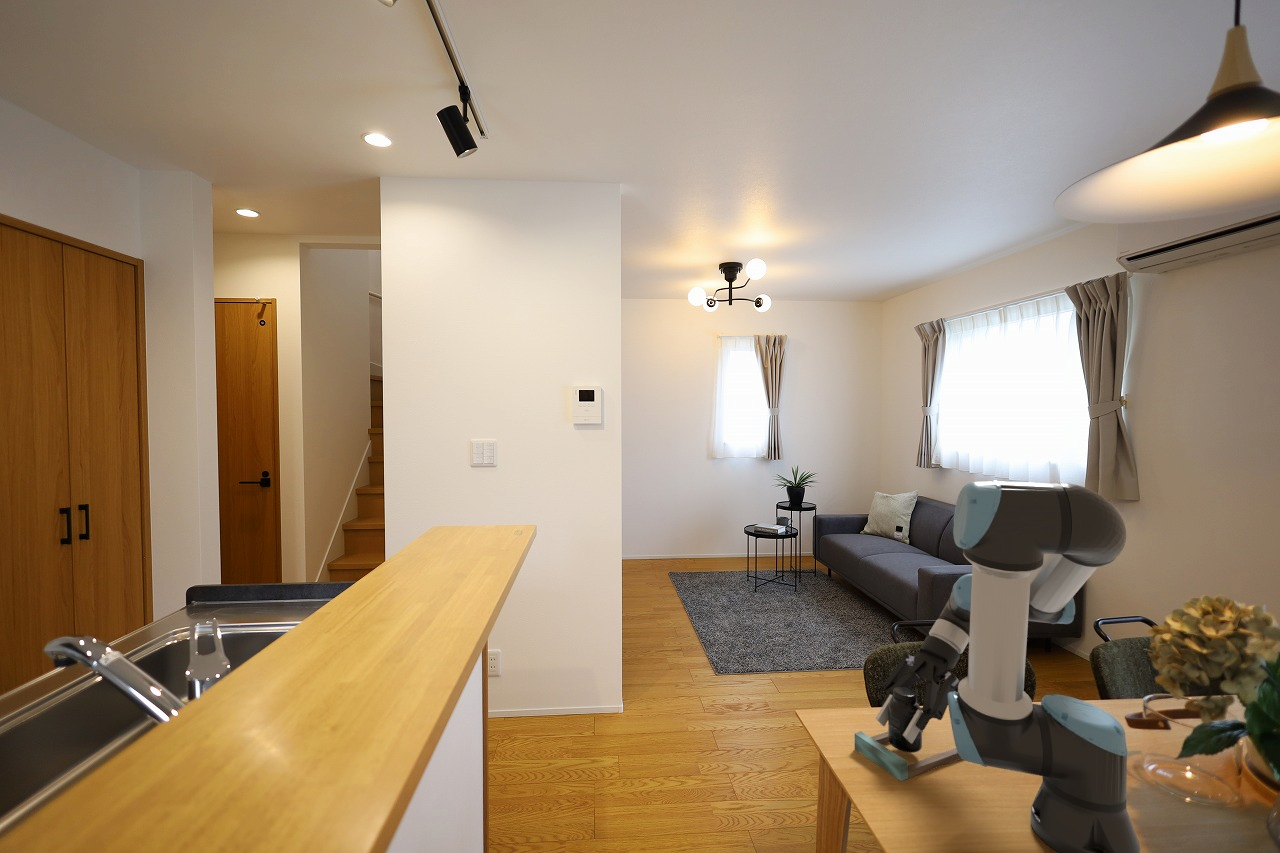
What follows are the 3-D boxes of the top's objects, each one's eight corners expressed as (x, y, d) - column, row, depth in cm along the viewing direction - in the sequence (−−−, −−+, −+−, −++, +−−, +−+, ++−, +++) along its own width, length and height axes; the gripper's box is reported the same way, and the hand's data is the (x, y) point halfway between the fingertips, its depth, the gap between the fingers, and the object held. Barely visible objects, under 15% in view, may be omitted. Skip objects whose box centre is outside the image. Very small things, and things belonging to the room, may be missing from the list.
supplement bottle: (926, 755, 120) (925, 700, 120) (892, 752, 121) (891, 697, 121) (917, 737, 126) (916, 685, 126) (885, 734, 128) (884, 682, 128)
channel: (966, 756, 122) (966, 740, 122) (900, 781, 114) (900, 764, 114) (917, 728, 134) (917, 713, 134) (854, 748, 126) (854, 733, 126)
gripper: (993, 671, 121) (941, 764, 114) (916, 639, 139) (867, 718, 132) (976, 651, 119) (923, 745, 112) (900, 621, 137) (850, 701, 130)
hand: (893, 730), depth 122 cm, fingers closed on supplement bottle, 7 cm apart
